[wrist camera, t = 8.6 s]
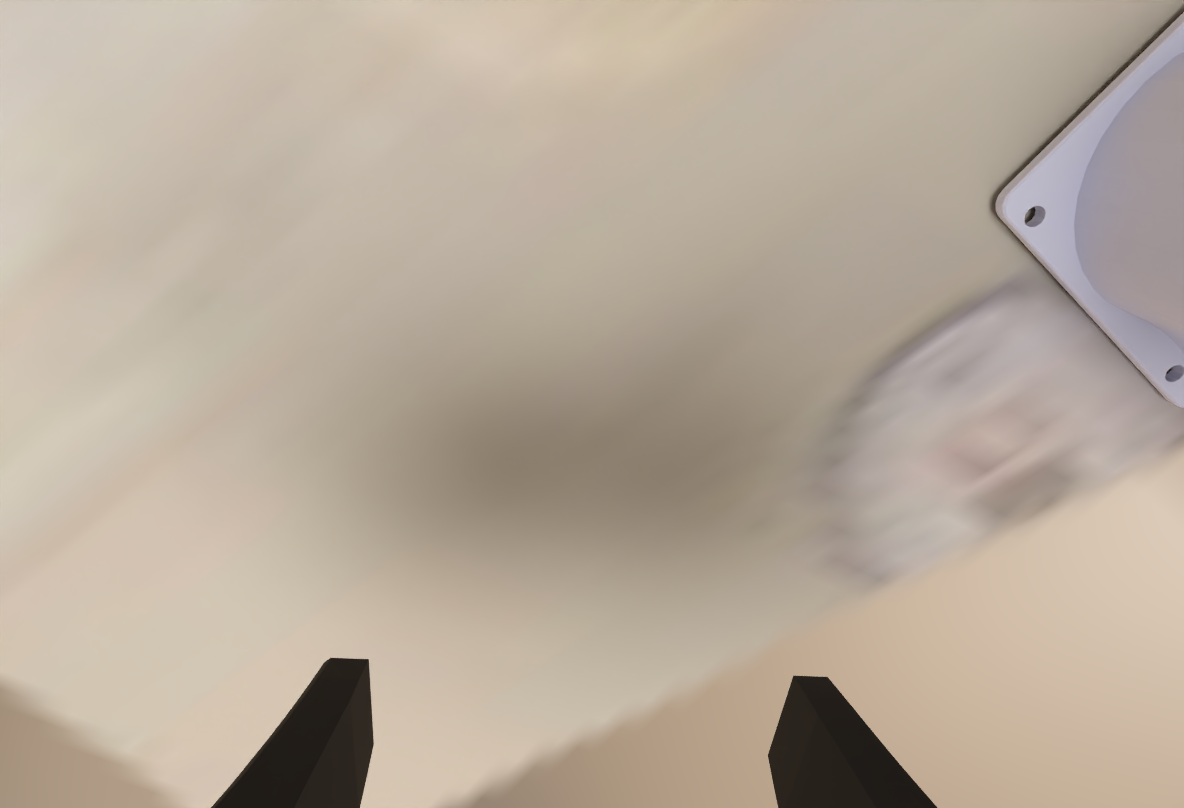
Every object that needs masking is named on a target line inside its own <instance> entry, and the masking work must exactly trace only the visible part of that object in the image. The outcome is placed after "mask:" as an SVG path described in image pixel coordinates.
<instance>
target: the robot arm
mask: <svg viewBox="0 0 1184 808" xmlns="http://www.w3.org/2000/svg"><path fill="white" fill-rule="evenodd" d="M1032 207H1035V209H1036V211H1035V215H1034V217H1033V218H1032V220H1031V221H1029V222H1027V223H1026V224H1025V221H1024V218H1025V214H1026V213H1027V212H1028V210H1029V209H1031V208H1032ZM996 212H997V214H998V216H999V218H1000V219H1001V220H1002V221H1003V222H1004V223H1005V224H1006V225H1007V226H1008V227H1009V229H1010V230H1011V231H1012V232H1013V233H1014V234H1015V235H1016V236H1017V237H1018V238H1019V239H1020V241H1021V242H1022V243H1023V244H1024V245H1025V246H1026V247H1027V248H1028V249H1029V250H1030V251H1031V253H1032V254H1033V255H1034V256H1035V257H1036V258H1037V259H1038V260H1039V261H1040V262H1041V263H1042V265H1043V266H1044V267H1045V268H1046V269H1047V270H1048V271H1049V272H1050V273H1051V274H1052V275H1053V277H1054V278H1055V279H1056V280H1057V281H1058V282H1059V283H1060V284H1061V285H1062V286H1063V287H1064V289H1065V290H1066V291H1067V292H1068V293H1069V294H1070V295H1071V296H1072V297H1073V298H1074V299H1075V301H1076V302H1077V303H1078V304H1079V305H1080V306H1081V307H1082V308H1083V309H1084V310H1085V311H1086V312H1087V314H1088V315H1089V316H1090V317H1091V318H1092V319H1093V320H1094V321H1095V322H1096V323H1097V324H1098V326H1099V327H1100V328H1101V329H1102V330H1103V331H1104V332H1105V333H1106V334H1107V335H1108V336H1109V338H1110V339H1111V340H1112V341H1113V342H1114V343H1115V344H1116V345H1117V346H1118V347H1119V348H1120V350H1121V351H1122V352H1123V353H1124V354H1125V355H1126V356H1127V357H1128V358H1129V359H1130V360H1131V362H1132V363H1133V364H1134V365H1135V366H1136V367H1137V368H1138V369H1139V370H1140V371H1141V372H1142V374H1143V375H1144V376H1145V377H1146V378H1147V379H1148V380H1149V381H1150V382H1151V383H1152V384H1153V386H1154V387H1155V388H1156V389H1157V390H1158V391H1159V392H1160V393H1161V394H1162V395H1163V396H1164V398H1165V399H1166V400H1167V401H1169V402H1171V403H1173V404H1174V405H1176V406H1178V407H1181V408H1184V12H1183V13H1182V14H1181V15H1180V16H1179V17H1178V18H1177V19H1176V20H1175V21H1174V22H1173V23H1172V24H1171V25H1170V26H1169V27H1168V28H1167V29H1166V30H1165V31H1164V32H1163V33H1162V34H1161V35H1160V36H1159V37H1158V38H1157V39H1156V40H1155V41H1154V42H1153V43H1152V44H1151V45H1150V46H1149V47H1147V48H1146V49H1145V50H1144V51H1143V52H1142V53H1141V54H1140V55H1139V56H1138V57H1137V58H1136V59H1135V60H1134V61H1133V62H1132V63H1131V64H1130V65H1129V66H1128V67H1127V68H1126V69H1125V70H1124V71H1123V72H1122V73H1121V74H1120V75H1119V76H1118V77H1117V78H1116V79H1115V80H1114V81H1113V82H1112V83H1111V84H1110V85H1109V86H1108V87H1107V88H1106V89H1105V90H1104V91H1103V92H1102V93H1101V94H1100V95H1099V96H1098V97H1096V98H1095V99H1094V100H1093V101H1092V102H1091V103H1090V104H1089V105H1088V106H1087V107H1086V108H1085V109H1084V110H1083V111H1082V112H1081V113H1080V114H1079V115H1078V116H1077V117H1076V118H1075V119H1074V120H1073V121H1072V122H1071V123H1070V124H1069V125H1068V126H1067V127H1066V128H1065V129H1064V130H1063V131H1062V132H1061V133H1060V134H1059V135H1058V136H1057V137H1056V138H1055V139H1054V140H1053V141H1052V142H1051V143H1050V144H1049V145H1048V146H1046V147H1045V148H1044V149H1043V150H1042V151H1041V152H1040V153H1039V154H1038V155H1037V156H1036V157H1035V158H1034V159H1033V160H1032V161H1031V162H1030V163H1029V164H1028V165H1027V166H1026V167H1025V168H1024V169H1023V170H1022V171H1021V172H1020V173H1019V174H1018V175H1017V176H1016V177H1015V178H1014V179H1013V180H1012V181H1011V182H1010V183H1009V184H1008V185H1007V186H1006V187H1005V188H1004V189H1003V190H1002V191H1001V193H1000V194H999V195H998V198H997V201H996ZM1171 367H1172V370H1171V371H1170V372H1169V373H1168V374H1166V372H1167V371H1168V370H1169V369H1170V368H1171ZM373 744H374V743H373V726H372V709H371V692H370V674H369V659H344V658H330V659H329V660H327V661H326V662H325V663H324V664H323V665H322V667H321V668H320V670H319V671H318V672H317V674H316V675H315V677H314V678H313V680H312V681H311V683H310V684H309V685H308V687H307V688H306V690H305V691H304V692H303V694H302V695H301V697H300V698H299V699H298V701H297V702H296V703H295V705H294V706H293V707H292V709H291V710H290V711H289V713H288V714H287V715H286V717H285V718H284V719H283V721H282V722H281V723H280V725H279V726H278V727H277V728H276V730H275V731H274V732H273V734H272V735H271V736H270V738H269V739H268V740H267V741H266V742H265V744H264V745H263V746H262V747H261V749H260V750H259V751H258V752H257V754H256V755H255V756H254V757H253V759H252V760H251V761H250V762H249V763H248V765H247V766H246V767H245V768H244V770H243V771H242V772H241V773H240V775H239V776H238V777H237V778H236V779H235V781H234V782H233V783H232V784H231V785H230V787H229V788H228V789H227V790H226V791H225V792H224V794H223V795H222V796H221V797H220V798H219V799H218V800H217V801H216V803H215V804H214V805H213V806H212V807H211V808H360V804H361V800H362V795H363V791H364V786H365V782H366V777H367V773H368V768H369V763H370V759H371V754H372V749H373ZM768 758H769V763H770V768H771V774H772V779H773V784H774V789H775V794H776V799H777V803H778V808H937V807H936V806H935V805H934V803H933V802H932V801H931V800H930V799H929V798H928V796H927V795H926V794H925V793H924V792H923V791H922V790H921V788H919V786H918V785H917V784H916V783H915V782H914V781H913V779H912V778H911V777H910V776H909V775H908V773H907V772H906V771H905V770H904V769H903V768H902V766H901V765H899V763H898V762H897V761H896V760H895V758H894V757H893V756H892V755H891V753H890V752H889V751H888V750H887V749H886V747H885V746H884V745H883V744H882V743H881V742H880V740H879V739H878V738H877V737H876V735H875V734H874V733H873V732H872V731H871V729H870V728H869V727H868V726H867V725H866V724H865V722H864V721H863V720H862V718H861V717H860V716H859V715H858V713H857V712H856V711H855V710H854V709H853V707H852V706H851V705H850V704H849V703H848V702H847V700H846V699H845V698H844V696H843V695H842V694H841V693H840V692H839V690H838V689H837V688H836V687H835V686H834V684H833V683H832V682H831V681H830V680H829V678H828V677H810V676H793V679H792V682H791V686H790V688H789V691H788V695H787V698H786V701H785V704H784V707H783V710H782V713H781V717H780V720H779V723H778V726H777V729H776V732H775V735H774V738H773V741H772V744H771V747H770V751H769V754H768Z"/></svg>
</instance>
